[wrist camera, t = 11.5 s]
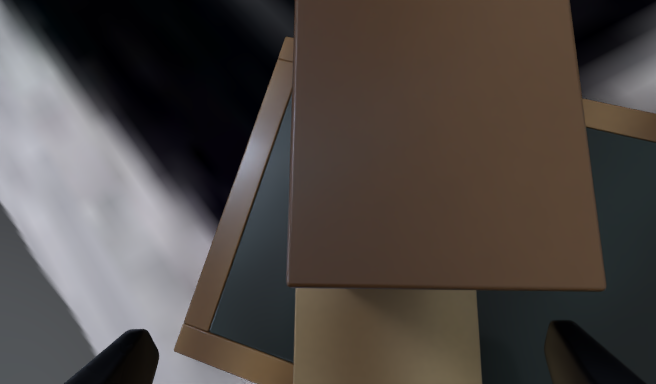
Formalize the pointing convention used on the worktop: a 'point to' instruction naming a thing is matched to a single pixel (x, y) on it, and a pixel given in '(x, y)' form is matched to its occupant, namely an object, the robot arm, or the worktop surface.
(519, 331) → the chalkboard
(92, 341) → the worktop surface
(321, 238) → the eraser
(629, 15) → the worktop surface
